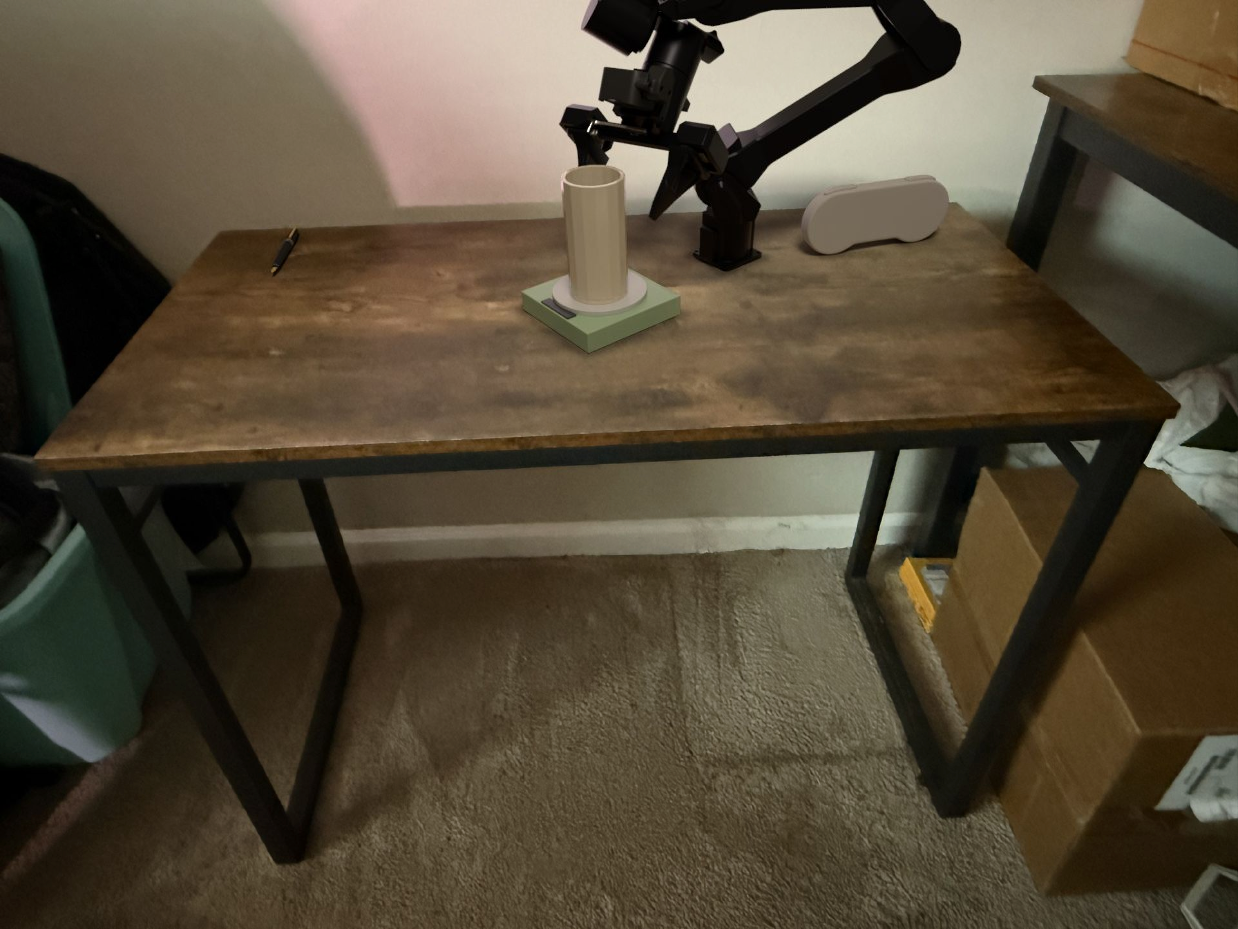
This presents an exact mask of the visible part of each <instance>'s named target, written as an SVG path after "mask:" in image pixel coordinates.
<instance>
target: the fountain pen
mask: <svg viewBox="0 0 1238 929" xmlns="http://www.w3.org/2000/svg"><path fill="white" fill-rule="evenodd" d="M298 235H299V229H298V228H297V226H294V227H293V228H292V229H291V230H290V231H289V233H288V234H287V236H286V237H285V239H284V240H283V243H282V245H281V247H280V249H279V252H277V255H276V257H275V259H274V262H273V264H272V265H271V270H270V272H271V273H274V272H278V271H279V268H280V267H281V265H282V264H283V262H284V261H285V259H286V258H287V256H288V254H289V252H290V251H291V249H292V248H293V247H294V245H295V242H296V240H297V238H298Z"/></svg>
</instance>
